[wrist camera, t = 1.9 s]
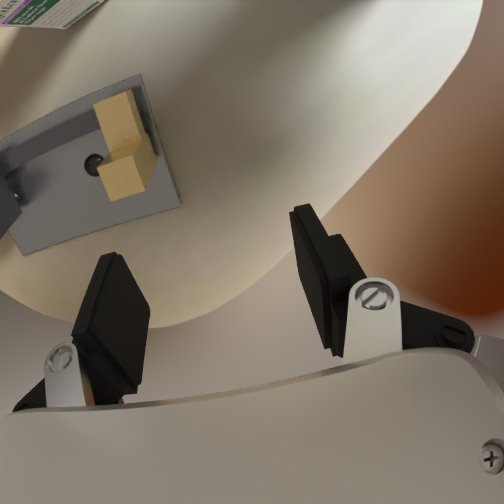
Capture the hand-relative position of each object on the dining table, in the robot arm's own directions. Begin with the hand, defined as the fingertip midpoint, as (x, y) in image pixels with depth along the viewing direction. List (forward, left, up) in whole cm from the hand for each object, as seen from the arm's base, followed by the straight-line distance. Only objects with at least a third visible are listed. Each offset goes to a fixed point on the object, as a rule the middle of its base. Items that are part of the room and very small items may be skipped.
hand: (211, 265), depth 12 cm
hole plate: (+16, 0, -22) cm, 27 cm away
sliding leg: (+7, -2, -20) cm, 21 cm away
